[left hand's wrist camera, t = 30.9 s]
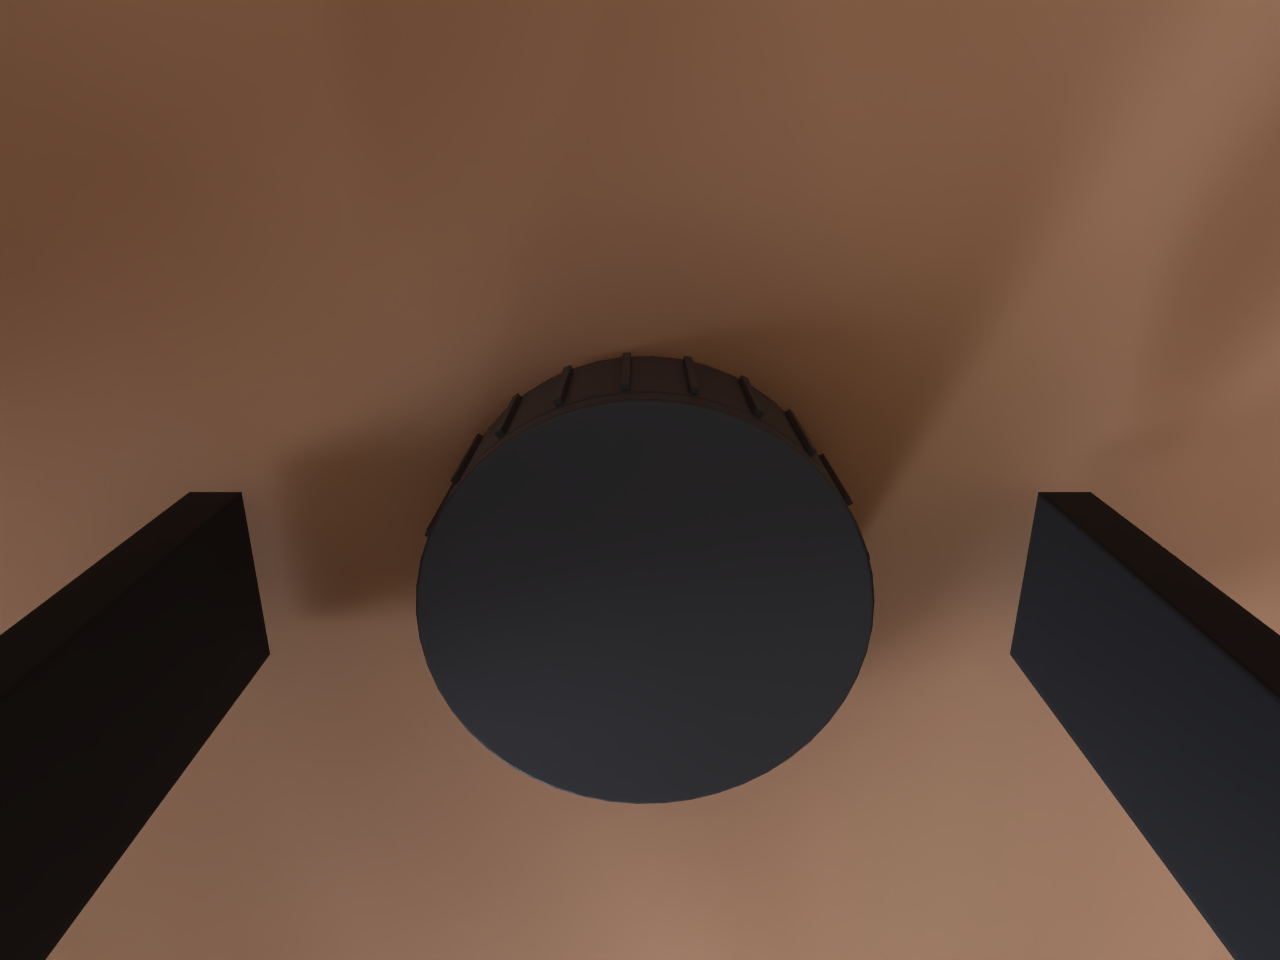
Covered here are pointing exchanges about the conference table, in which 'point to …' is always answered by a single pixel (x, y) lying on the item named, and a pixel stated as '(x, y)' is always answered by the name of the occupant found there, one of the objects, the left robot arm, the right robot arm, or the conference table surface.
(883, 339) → the conference table surface
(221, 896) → the conference table surface
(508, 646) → the lid
